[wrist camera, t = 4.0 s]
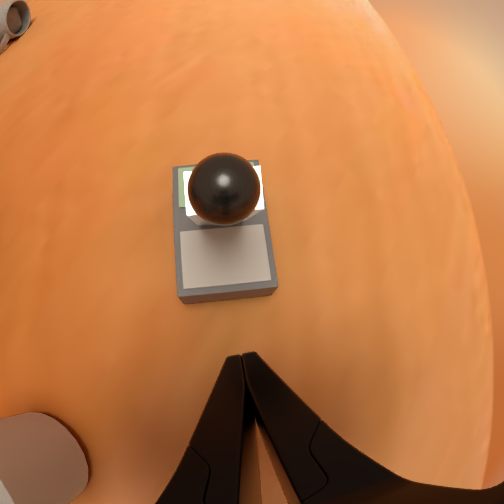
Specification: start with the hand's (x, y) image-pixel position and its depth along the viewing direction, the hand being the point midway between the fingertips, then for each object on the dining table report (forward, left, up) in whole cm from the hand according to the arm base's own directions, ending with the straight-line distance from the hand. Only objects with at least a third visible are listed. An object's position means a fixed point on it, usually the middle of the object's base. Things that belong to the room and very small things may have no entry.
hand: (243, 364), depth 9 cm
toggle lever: (+7, +5, -8) cm, 12 cm away
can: (-16, +7, -12) cm, 21 cm away
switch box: (+7, +5, -12) cm, 15 cm away
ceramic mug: (+18, +60, -12) cm, 64 cm away
